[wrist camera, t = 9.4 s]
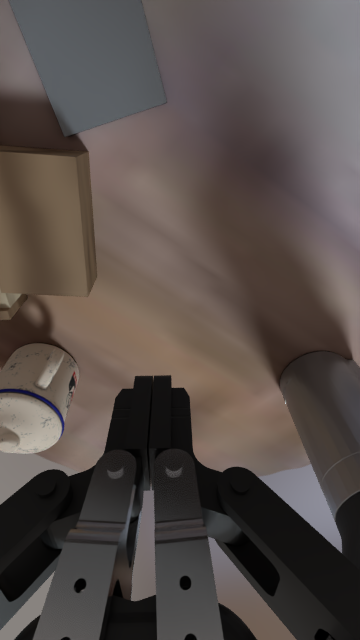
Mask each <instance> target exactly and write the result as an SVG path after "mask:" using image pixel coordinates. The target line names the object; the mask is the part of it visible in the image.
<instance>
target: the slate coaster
mask: <svg viewBox="0 0 360 640" xmlns="http://www.w3.org/2000/svg"><path fill="white" fill-rule="evenodd" d="M9 2H10V5H11V7H12V10H13V12H14V15H15V17H16V20H17V22H18V24H19V27H20V29H21V32H22V34H23V37H24V39H25V42H26V44H27V46H28V49H29V51H30V54H31V56H32V59H33V61H34V64H35V66H36V68H37V71H38V73H39V76H40V78H41V81H42V83H43V86H44V88H45V90H46V93H47V95H48V98H49V100H50V103H51V105H52V107H53V110H54V112H55V115H56V117H57V120H58V122H59V125H60V127H61V129H62V132H63V134H64V137H67V136H70V135H73V134H76V133H79V132H82V131H85V130H88V129H91V128H94V127H97V126H100V125H103V124H106V123H109V122H112V121H115V120H118V119H121V118H123V117H126V116H129V115H132V114H135V113H138V112H141V111H144V110H147V109H150V108H153V107H156V106H159V105H162V104H165V103H167V101H166V97H165V93H164V89H163V85H162V81H161V77H160V73H159V69H158V65H157V61H156V57H155V53H154V49H153V46H152V42H151V38H150V34H149V30H148V26H147V22H146V18H145V14H144V10H143V6H142V2H141V0H9Z"/></svg>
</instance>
